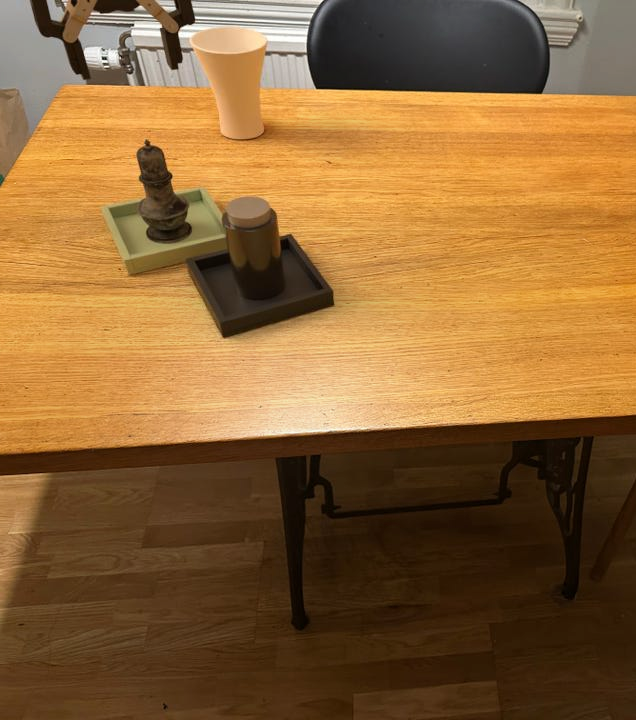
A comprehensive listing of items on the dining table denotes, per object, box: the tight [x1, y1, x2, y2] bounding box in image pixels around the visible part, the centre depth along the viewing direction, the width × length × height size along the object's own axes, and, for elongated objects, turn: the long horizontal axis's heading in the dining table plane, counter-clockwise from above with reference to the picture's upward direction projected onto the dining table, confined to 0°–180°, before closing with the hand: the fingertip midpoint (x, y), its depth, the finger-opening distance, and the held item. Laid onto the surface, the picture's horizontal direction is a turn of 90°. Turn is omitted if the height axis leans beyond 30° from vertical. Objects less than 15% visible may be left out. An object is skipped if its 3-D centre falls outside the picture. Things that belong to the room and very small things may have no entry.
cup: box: [189, 26, 269, 140], centre depth 103 cm, size 10×10×14 cm
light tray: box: [100, 185, 227, 276], centre depth 85 cm, size 13×13×2 cm
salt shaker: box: [135, 138, 192, 243], centre depth 81 cm, size 6×6×12 cm
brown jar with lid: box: [222, 195, 285, 300], centre depth 76 cm, size 6×6×10 cm
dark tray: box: [185, 233, 335, 338], centre depth 79 cm, size 13×13×2 cm
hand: (130, 72), depth 72 cm, fingers open, 8 cm apart
